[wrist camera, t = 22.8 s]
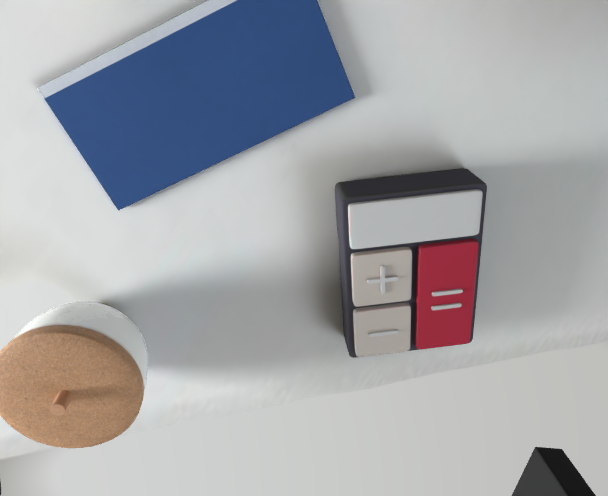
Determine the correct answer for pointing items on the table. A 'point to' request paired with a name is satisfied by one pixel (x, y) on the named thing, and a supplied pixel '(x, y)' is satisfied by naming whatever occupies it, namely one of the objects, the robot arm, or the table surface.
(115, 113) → the blue book
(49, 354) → the trinket box
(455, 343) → the calculator
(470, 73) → the table surface
